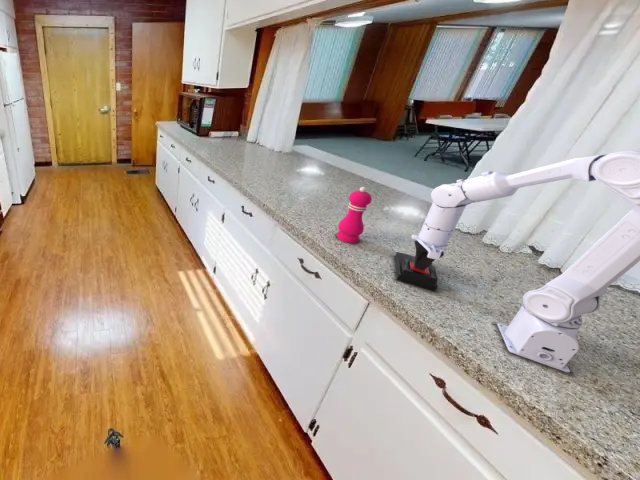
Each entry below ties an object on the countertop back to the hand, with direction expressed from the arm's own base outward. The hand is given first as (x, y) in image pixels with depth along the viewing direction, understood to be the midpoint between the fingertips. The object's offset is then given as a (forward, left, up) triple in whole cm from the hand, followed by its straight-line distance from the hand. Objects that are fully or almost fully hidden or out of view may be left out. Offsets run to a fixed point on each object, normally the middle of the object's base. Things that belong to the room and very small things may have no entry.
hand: (419, 267), depth 83 cm
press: (+3, 0, -4) cm, 5 cm away
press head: (0, 0, -2) cm, 2 cm away
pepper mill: (+14, +17, -4) cm, 23 cm away
